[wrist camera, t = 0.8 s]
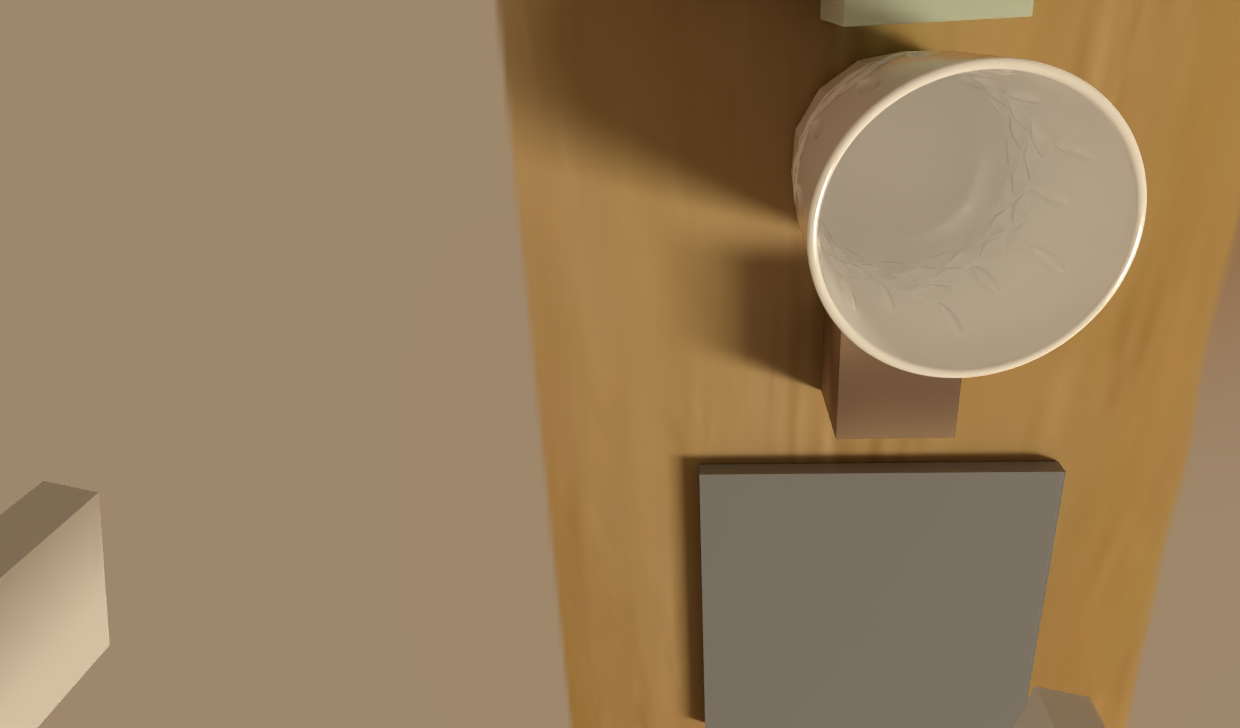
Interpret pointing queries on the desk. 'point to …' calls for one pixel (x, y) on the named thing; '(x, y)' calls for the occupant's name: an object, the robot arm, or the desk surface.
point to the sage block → (919, 11)
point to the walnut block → (882, 394)
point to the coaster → (873, 592)
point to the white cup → (965, 207)
